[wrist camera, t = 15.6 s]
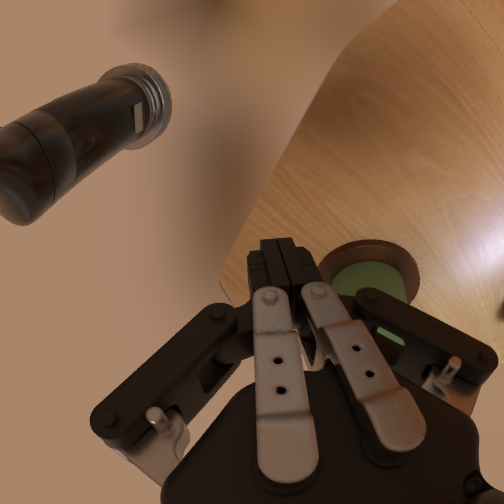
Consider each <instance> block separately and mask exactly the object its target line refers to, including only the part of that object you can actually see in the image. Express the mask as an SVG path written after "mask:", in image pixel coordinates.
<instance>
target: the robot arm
mask: <svg viewBox="0 0 504 504" xmlns="http://www.w3.org/2000/svg"><path fill="white" fill-rule="evenodd" d="M154 116H155V105H154V100H153V97H152V95H151V92H150V91H149V89H148V88H147V86H146V85H145V84H144V83H143V82H142V81H141V80H139V79H138V78H136V77H133V76H130V75H119V76H116V77H112V78H110V79H108V80H106V81H101V82H98V83H95V84H92V85H89V86H87V87H84V88H81V89H79V90H76V91H74V92H71V93H69V94H66V95H64V96H62V97H59V98H57V99H55V100H53V101H52V102H50V103H48V104H45V105H43V106H41V107H39V108H37V109H35V110H33V111H31V112H29V113H28V114H25V115H24V116H22V117H20V118H18V119H16V120H14V121H12V122H11V123H9V124H7V125H5V126H4V127H0V215H1V216H2V217H4V218H5V219H6V220H8V221H9V222H11V223H13V224H16V225H19V226H27V225H30V224H32V223H34V222H35V221H36V220H37V219H38V218H40V217H41V216H42V215H43V214H44V213H45V212H46V211H47V210H48V209H49V208H50V207H51V206H53V205H54V204H55V203H56V202H57V201H58V200H59V199H61V198H62V197H63V196H64V195H65V194H66V193H68V192H69V191H70V190H71V189H72V188H73V187H75V186H76V185H77V184H78V183H79V182H80V181H82V180H83V179H84V178H86V177H87V176H88V175H89V174H91V173H92V172H93V171H94V170H96V169H97V168H98V167H99V166H101V165H102V164H104V163H105V162H106V161H108V160H109V159H110V158H112V157H113V156H115V155H116V154H117V153H119V152H120V151H122V150H123V149H124V148H126V147H127V146H129V145H130V144H132V143H134V142H136V141H137V140H139V139H140V138H142V137H143V136H145V135H146V134H147V132H148V131H149V130H150V128H151V126H152V124H153V121H154ZM247 268H248V284H249V291H250V298H251V299H250V300H249V301H248V302H247V303H246V304H244V305H242V306H240V307H237V308H233V307H232V306H231V305H229V304H226V303H214V304H210V305H208V306H206V307H205V308H204V309H203V310H202V311H200V312H199V313H198V314H197V315H196V316H195V317H194V318H193V319H192V320H191V321H190V322H188V323H187V324H186V325H185V326H184V327H183V328H182V329H181V330H180V331H179V332H177V333H176V334H175V335H174V336H173V337H172V338H171V339H170V340H169V341H168V342H167V343H166V344H164V345H163V346H162V347H161V348H160V349H159V350H158V351H157V352H156V353H155V354H153V355H152V356H151V357H150V358H149V359H148V360H147V361H146V362H145V363H144V364H142V365H141V366H140V367H139V368H138V369H137V370H136V371H135V372H134V373H133V374H132V375H130V376H129V377H128V378H127V379H126V380H125V381H124V382H123V383H121V384H120V385H119V386H118V387H117V388H116V389H115V390H114V391H113V392H112V393H110V394H109V395H108V396H107V397H106V398H105V399H104V400H103V401H102V402H100V404H98V405H97V406H96V407H95V408H94V409H93V411H92V413H91V416H90V425H91V428H92V430H93V432H94V433H95V434H97V436H99V437H100V438H101V439H102V440H103V441H104V442H105V444H106V445H108V446H109V447H110V448H111V449H112V450H114V451H115V452H116V453H117V454H119V455H120V456H121V457H123V458H125V459H127V460H128V461H129V462H131V463H132V464H134V465H135V466H137V467H138V468H139V469H140V470H141V471H143V472H144V473H145V474H146V475H147V476H148V477H150V478H151V479H152V480H153V481H154V482H156V483H157V484H158V485H159V486H161V487H162V489H161V497H160V499H161V500H160V501H161V504H504V492H502V491H500V490H497V489H495V488H493V487H492V486H490V485H489V484H488V483H487V482H486V481H485V480H484V478H483V477H482V475H481V472H480V466H479V434H478V430H477V427H476V425H475V423H474V422H473V420H472V419H471V418H470V416H471V414H472V411H473V408H474V406H475V403H476V400H477V397H478V394H479V391H480V388H481V386H482V385H483V384H484V382H485V381H486V380H487V379H488V378H489V376H490V375H491V374H492V373H493V371H494V370H495V369H496V368H497V366H498V356H497V354H496V352H495V351H494V350H493V349H492V348H491V347H490V346H488V345H486V344H484V343H482V342H481V341H479V340H477V339H475V338H473V337H471V336H469V335H467V334H465V333H463V332H462V331H460V330H458V329H456V328H454V327H452V326H450V325H448V324H446V323H444V322H442V321H440V320H438V319H436V318H434V317H432V316H431V315H429V314H427V313H425V312H423V311H421V310H419V309H417V308H415V307H413V306H411V305H409V304H407V303H405V302H403V301H401V300H399V299H397V298H395V297H393V296H391V295H389V294H387V293H385V292H383V291H381V290H379V289H376V288H373V287H364V288H361V289H359V290H358V291H357V292H356V294H355V296H348V295H341V294H337V293H336V292H335V290H334V289H333V288H332V287H331V286H330V285H328V284H326V283H324V281H323V279H322V277H321V274H320V272H319V270H318V268H317V266H316V264H315V262H314V260H313V257H312V255H311V253H310V252H309V251H308V250H307V249H306V248H304V247H295V244H294V242H293V239H292V238H291V237H288V238H276V239H264V240H260V250H256V251H250V253H249V254H248V256H247ZM293 325H296V326H297V331H294V329H293ZM379 327H381V328H383V329H385V330H386V331H388V332H390V333H392V334H394V335H396V336H397V337H399V338H401V339H402V340H403V342H404V345H400V344H398V343H397V342H395V341H393V340H391V339H389V338H388V337H386V336H384V335H382V334H380V333H378V332H377V331H378V328H379ZM300 349H301V351H302V354H303V357H304V359H305V362H306V364H307V367H308V370H309V371H304V370H303V364H302V358H301V352H300ZM251 356H254V364H255V365H254V366H255V382H254V383H252V384H250V385H248V386H246V387H244V388H243V389H241V390H240V391H239V392H237V393H236V394H235V395H234V396H233V397H232V398H231V400H230V401H229V402H228V404H227V405H226V406H225V407H224V409H223V410H222V411H221V412H220V414H219V415H218V416H217V418H216V419H215V420H214V421H213V423H212V424H211V425H210V427H209V428H208V429H207V430H206V431H205V433H204V434H203V435H202V436H201V438H200V439H199V440H198V441H197V443H196V444H195V445H194V446H193V447H192V449H191V450H190V451H189V452H188V453H187V454H186V456H185V457H184V458H183V453H184V451H185V449H186V447H187V445H188V444H189V442H190V432H189V429H188V428H187V425H188V424H189V423H190V422H191V420H192V419H193V418H194V417H195V416H196V415H197V414H198V412H200V410H201V409H202V408H203V407H204V406H205V405H206V404H207V403H208V401H209V400H210V399H211V398H212V397H213V396H214V395H215V393H216V392H217V391H218V390H219V389H220V387H222V385H223V384H224V383H225V382H226V381H227V380H228V378H229V377H230V376H231V375H232V374H233V373H234V371H235V370H236V369H237V368H238V367H239V365H240V363H241V360H244V359H246V358H249V357H251Z"/></svg>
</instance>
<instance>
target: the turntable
mask: <svg viewBox="0 0 504 504" xmlns="http://www.w3.org/2000/svg"><path fill="white" fill-rule="evenodd" d="M364 261H377V262H382V263H386V264H388V265H390V266H392V267H394V268H395V269H396V270H397V271H398V272H399V273H400V274H401V276H402V278H403V281H404V286H405V292H406V298H407V304H410V303H411V302H412V300H413V299H414V298H415V296H416V294H417V292H418V289H419V285H420V276H419V271H418V268H417V265H416V262H415V261H414V259H413V258H412V256H411V255H410V254H409V253H408V252H407V251H406V250H404V249H403V248H401V247H399V246H397V245H395V244H392V243H389V242H386V241H380V240H362V241H356V242H352V243H349V244H346V245H343V246H341V247H339V248H337V249H335V250H334V251H332V252H331V253H330V254H328V255H327V256H326V257H325V258H324V259H323V260H322V262H321V263H320V265H319V266H318V270H319V272H320V274H321V277H322V279H323V281H324V283H326V284H328V285H330V286H331V284H332V281H333V279H334V278H335V276H336V275H337V274H338V273H339V272H340V271H341V270H343V269H344V268H346V267H348V266H350V265H352V264H355V263H359V262H364Z"/></svg>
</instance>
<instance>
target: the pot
mask: <svg viewBox="0 0 504 504" xmlns="http://www.w3.org/2000/svg"><path fill="white" fill-rule="evenodd" d="M331 287H332V288H333V289H334V290H335V292H336V293H337V294H341V295H348V296H355V294H356V292H357V291H358V290H359V289H361V288H364V287H373V288H376V289H379V290H381V291H383V292H385V293H387V294H389V295H391V296H393V297H395V298H397V299H399V300H401V301H403V302H405V303H407V298H406V292H405V286H404V281H403V278H402V276H401V274H400V273H399V272H398V271H397V270H396V269H395V268H394V267H392V266H390V265H388V264H386V263H382V262H377V261H364V262H359V263H355V264H352V265H350V266H348V267H346V268H344V269H343V270H341V271H340V272H339V273H338V274H337V275H336V276H335V278H334V279H333V281H332V284H331ZM293 329H297V326H296V325H293ZM377 332H378V333H380V334H382V335H384V336H386V337H388V338H389V339H391V340H393V341H395V342H397V343H398V344H400V345H404V342H403V340H402V339H401V338H399V337H397V336H396V335H394V334H392V333H390V332H388V331H386V330H385V329H383V328H381V327H379V328H378V331H377Z"/></svg>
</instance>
